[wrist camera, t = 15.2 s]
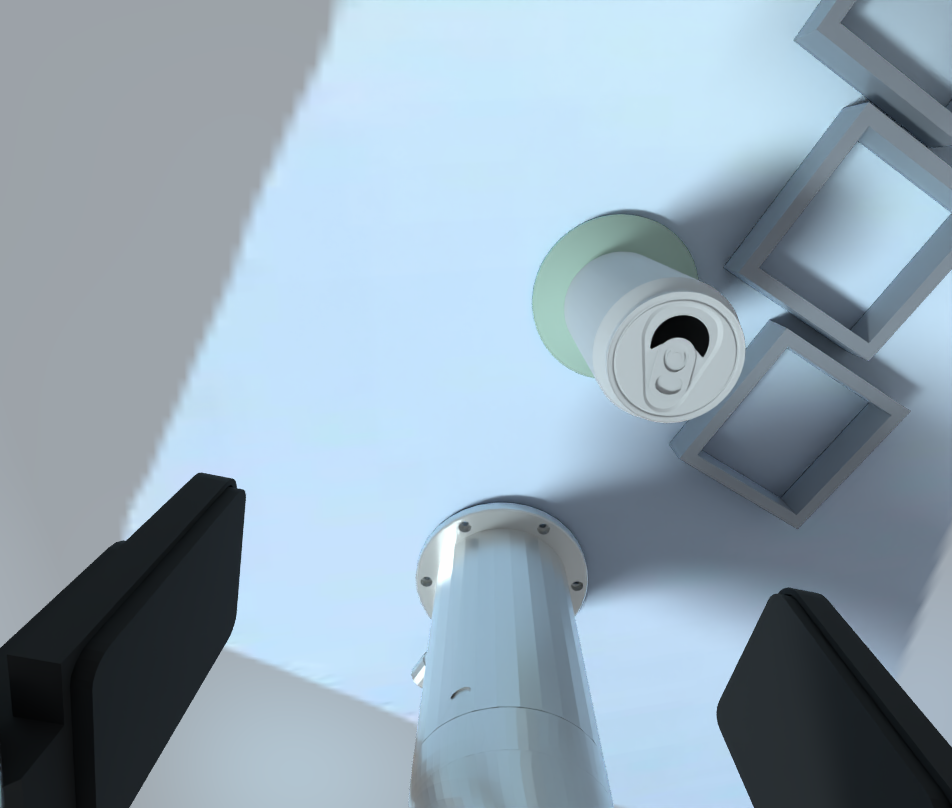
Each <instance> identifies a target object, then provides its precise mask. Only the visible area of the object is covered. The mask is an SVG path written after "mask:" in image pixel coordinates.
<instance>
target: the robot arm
mask: <svg viewBox="0 0 952 808" xmlns="http://www.w3.org/2000/svg"><path fill="white" fill-rule="evenodd" d="M245 501H246V494H245V491H244V490H242V489H237V485H236V481H235V480H234V479H231V478H226V477H221V476H216V475H211V474H206V473H198V474H196V475H195V476H194V477H193V478H192V479H191V480H190V481H188V482H187V483H186V484H185V485H184V486H183V487H182V488H181V489H180V490H179V491H178V492H177V493H176V494H175V495H174V496H173V497H172V498H171V499H170V500H168V501H167V502H166V503H165V504H164V505H163V506H162V507H161V508H160V509H159V510H158V511H157V512H156V513H155V514H154V515H153V516H152V517H151V518H150V519H148V520H147V521H146V522H145V523H144V524H143V525H142V526H141V527H140V528H139V529H138V530H137V531H136V532H135V533H134V534H133V535H132V536H131V537H130V538H129V539H127V540H126V541H119V542H116V543H115V544H113V545H112V546H110V547H109V548H108V549H107V550H106V551H105V552H103V553H102V554H101V555H100V556H99V557H98V558H97V559H96V560H95V561H94V562H93V563H92V564H90V565H89V566H88V567H87V568H86V569H85V570H84V571H83V572H82V573H81V574H80V575H79V576H78V577H76V578H75V579H74V580H73V581H72V582H71V583H70V584H69V585H68V586H67V587H66V588H65V589H63V590H62V591H61V592H60V593H59V594H58V595H57V596H56V597H55V598H54V599H53V600H52V601H51V602H49V604H47V605H46V606H45V607H44V608H43V609H42V610H41V611H40V612H39V613H38V614H36V615H35V616H34V617H33V618H32V619H31V620H30V621H29V622H28V623H27V624H26V625H25V626H24V627H22V628H21V629H20V630H19V631H18V632H17V633H16V634H15V635H14V636H13V637H12V638H11V639H9V640H8V641H7V642H6V643H5V644H4V645H3V646H2V647H1V648H0V808H129V807H130V805H131V804H132V802H133V800H134V799H135V797H136V795H137V794H138V792H139V790H140V789H141V787H142V785H143V783H144V782H145V780H146V778H147V777H148V775H149V773H150V772H151V770H152V768H153V766H154V765H155V763H156V761H157V760H158V758H159V756H160V754H161V753H162V751H163V749H164V748H165V746H166V744H167V743H168V741H169V739H170V737H171V736H172V734H173V732H174V731H175V729H176V727H177V726H178V724H179V722H180V720H181V719H182V717H183V715H184V714H185V712H186V710H187V708H188V707H189V705H190V703H191V702H192V700H193V698H194V697H195V695H196V693H197V691H198V690H199V688H200V686H201V685H202V683H203V681H204V680H205V678H206V676H207V674H208V673H209V671H210V669H211V668H212V666H213V664H214V663H215V661H216V659H217V657H218V656H219V654H220V652H221V651H222V649H223V647H224V645H225V644H226V642H227V640H228V639H229V637H230V635H231V632H232V630H233V627H234V624H235V620H236V613H237V601H238V589H239V576H240V564H241V551H242V539H243V526H244V514H245ZM465 522H466V523H465ZM541 524H543V525H541ZM587 586H588V571H587V565H586V561H585V557H584V554H583V552H582V550H581V547H580V545H579V543H578V541H577V540H576V538H575V537H574V536H573V534H572V533H571V532H570V530H569V529H568V528H566V527H565V526H564V525H563V524H562V523H561V522H560V521H559V520H557V519H556V518H554V517H552V516H551V515H549V514H547V513H546V512H543V511H541V510H538V509H536V508H533V507H530V506H526V505H521V504H516V503H489V504H482V505H477V506H474V507H471V508H468V509H465V510H462V511H460V512H459V513H457V514H455V515H453V516H451V517H449V518H448V519H447V520H445V521H444V522H443V523H442V524H440V525H439V526H438V527H437V528H436V529H435V530H434V531H433V533H432V534H431V535H430V536H429V537H428V539H427V541H426V542H425V544H424V546H423V548H422V550H421V553H420V557H419V560H418V565H417V572H416V587H417V593H418V596H419V599H420V602H421V605H422V606H423V608H424V610H425V611H426V613H427V615H428V616H429V617H430V618H431V627H430V634H429V642H428V650H427V652H426V653H425V654H424V655H423V656H422V657H421V659H420V660H419V661H418V663H417V664H416V665H415V667H414V668H413V669H412V674H411V675H412V678H413V681H414V682H415V683H416V684H417V685H418V686H419V687H421V688H422V696H421V703H420V711H419V719H418V726H417V734H416V742H415V749H414V757H413V764H412V774H411V781H410V789H409V808H614V805H613V800H612V795H611V790H610V786H609V781H608V776H607V771H606V766H605V762H604V758H603V753H602V748H601V743H600V738H599V733H598V728H597V723H596V718H595V714H594V709H593V704H592V699H591V694H590V689H589V684H588V679H587V674H586V669H585V664H584V659H583V655H582V650H581V645H580V640H579V635H578V630H577V625H576V620H575V616H576V614H577V613H578V611H579V610H580V608H581V606H582V604H583V601H584V599H585V597H586V592H587ZM717 722H718V725H719V728H720V731H721V733H722V735H723V737H724V740H725V742H726V744H727V747H728V749H729V751H730V754H731V756H732V758H733V760H734V763H735V765H736V767H737V770H738V772H739V774H740V777H741V779H742V781H743V783H744V786H745V788H746V790H747V793H748V795H749V797H750V799H751V802H752V804H753V806H754V808H952V747H951V746H950V745H949V744H948V742H947V741H946V740H945V739H944V738H943V736H942V735H941V734H940V733H939V732H938V731H937V729H936V728H935V727H934V726H933V724H932V723H931V722H930V721H929V720H928V719H927V717H926V716H925V715H924V714H923V713H922V711H921V710H920V709H919V708H918V707H917V705H916V704H915V703H914V702H913V701H912V700H911V698H910V697H909V696H908V695H907V694H906V692H905V691H904V690H903V689H902V688H901V686H900V685H899V684H898V683H897V682H896V681H895V679H894V678H893V677H892V676H891V675H890V673H889V672H888V671H887V670H886V669H885V667H884V666H883V665H882V664H881V663H880V662H879V660H878V659H877V658H876V657H875V656H874V654H873V653H872V652H871V651H870V650H869V648H868V647H867V646H866V645H865V644H864V643H863V641H862V640H861V639H860V638H859V637H858V635H857V634H856V633H855V632H854V631H853V629H852V628H851V627H850V626H849V625H848V624H847V622H846V621H845V620H844V619H843V618H842V616H841V615H840V614H839V613H838V612H837V610H836V609H835V608H834V607H833V606H832V605H831V603H830V602H829V601H828V600H827V599H826V598H825V597H824V596H823V595H821V594H818V593H814V592H809V591H803V590H798V589H793V588H784V589H783V590H781V591H780V592H779V593H778V594H774V595H772V596H771V597H770V599H769V600H768V602H767V604H766V606H765V608H764V610H763V612H762V614H761V616H760V618H759V620H758V622H757V625H756V627H755V629H754V631H753V633H752V635H751V637H750V639H749V641H748V643H747V645H746V647H745V649H744V651H743V653H742V655H741V657H740V659H739V661H738V664H737V666H736V668H735V670H734V672H733V674H732V676H731V678H730V680H729V682H728V684H727V686H726V688H725V690H724V692H723V694H722V696H721V698H720V701H719V703H718V706H717Z"/></svg>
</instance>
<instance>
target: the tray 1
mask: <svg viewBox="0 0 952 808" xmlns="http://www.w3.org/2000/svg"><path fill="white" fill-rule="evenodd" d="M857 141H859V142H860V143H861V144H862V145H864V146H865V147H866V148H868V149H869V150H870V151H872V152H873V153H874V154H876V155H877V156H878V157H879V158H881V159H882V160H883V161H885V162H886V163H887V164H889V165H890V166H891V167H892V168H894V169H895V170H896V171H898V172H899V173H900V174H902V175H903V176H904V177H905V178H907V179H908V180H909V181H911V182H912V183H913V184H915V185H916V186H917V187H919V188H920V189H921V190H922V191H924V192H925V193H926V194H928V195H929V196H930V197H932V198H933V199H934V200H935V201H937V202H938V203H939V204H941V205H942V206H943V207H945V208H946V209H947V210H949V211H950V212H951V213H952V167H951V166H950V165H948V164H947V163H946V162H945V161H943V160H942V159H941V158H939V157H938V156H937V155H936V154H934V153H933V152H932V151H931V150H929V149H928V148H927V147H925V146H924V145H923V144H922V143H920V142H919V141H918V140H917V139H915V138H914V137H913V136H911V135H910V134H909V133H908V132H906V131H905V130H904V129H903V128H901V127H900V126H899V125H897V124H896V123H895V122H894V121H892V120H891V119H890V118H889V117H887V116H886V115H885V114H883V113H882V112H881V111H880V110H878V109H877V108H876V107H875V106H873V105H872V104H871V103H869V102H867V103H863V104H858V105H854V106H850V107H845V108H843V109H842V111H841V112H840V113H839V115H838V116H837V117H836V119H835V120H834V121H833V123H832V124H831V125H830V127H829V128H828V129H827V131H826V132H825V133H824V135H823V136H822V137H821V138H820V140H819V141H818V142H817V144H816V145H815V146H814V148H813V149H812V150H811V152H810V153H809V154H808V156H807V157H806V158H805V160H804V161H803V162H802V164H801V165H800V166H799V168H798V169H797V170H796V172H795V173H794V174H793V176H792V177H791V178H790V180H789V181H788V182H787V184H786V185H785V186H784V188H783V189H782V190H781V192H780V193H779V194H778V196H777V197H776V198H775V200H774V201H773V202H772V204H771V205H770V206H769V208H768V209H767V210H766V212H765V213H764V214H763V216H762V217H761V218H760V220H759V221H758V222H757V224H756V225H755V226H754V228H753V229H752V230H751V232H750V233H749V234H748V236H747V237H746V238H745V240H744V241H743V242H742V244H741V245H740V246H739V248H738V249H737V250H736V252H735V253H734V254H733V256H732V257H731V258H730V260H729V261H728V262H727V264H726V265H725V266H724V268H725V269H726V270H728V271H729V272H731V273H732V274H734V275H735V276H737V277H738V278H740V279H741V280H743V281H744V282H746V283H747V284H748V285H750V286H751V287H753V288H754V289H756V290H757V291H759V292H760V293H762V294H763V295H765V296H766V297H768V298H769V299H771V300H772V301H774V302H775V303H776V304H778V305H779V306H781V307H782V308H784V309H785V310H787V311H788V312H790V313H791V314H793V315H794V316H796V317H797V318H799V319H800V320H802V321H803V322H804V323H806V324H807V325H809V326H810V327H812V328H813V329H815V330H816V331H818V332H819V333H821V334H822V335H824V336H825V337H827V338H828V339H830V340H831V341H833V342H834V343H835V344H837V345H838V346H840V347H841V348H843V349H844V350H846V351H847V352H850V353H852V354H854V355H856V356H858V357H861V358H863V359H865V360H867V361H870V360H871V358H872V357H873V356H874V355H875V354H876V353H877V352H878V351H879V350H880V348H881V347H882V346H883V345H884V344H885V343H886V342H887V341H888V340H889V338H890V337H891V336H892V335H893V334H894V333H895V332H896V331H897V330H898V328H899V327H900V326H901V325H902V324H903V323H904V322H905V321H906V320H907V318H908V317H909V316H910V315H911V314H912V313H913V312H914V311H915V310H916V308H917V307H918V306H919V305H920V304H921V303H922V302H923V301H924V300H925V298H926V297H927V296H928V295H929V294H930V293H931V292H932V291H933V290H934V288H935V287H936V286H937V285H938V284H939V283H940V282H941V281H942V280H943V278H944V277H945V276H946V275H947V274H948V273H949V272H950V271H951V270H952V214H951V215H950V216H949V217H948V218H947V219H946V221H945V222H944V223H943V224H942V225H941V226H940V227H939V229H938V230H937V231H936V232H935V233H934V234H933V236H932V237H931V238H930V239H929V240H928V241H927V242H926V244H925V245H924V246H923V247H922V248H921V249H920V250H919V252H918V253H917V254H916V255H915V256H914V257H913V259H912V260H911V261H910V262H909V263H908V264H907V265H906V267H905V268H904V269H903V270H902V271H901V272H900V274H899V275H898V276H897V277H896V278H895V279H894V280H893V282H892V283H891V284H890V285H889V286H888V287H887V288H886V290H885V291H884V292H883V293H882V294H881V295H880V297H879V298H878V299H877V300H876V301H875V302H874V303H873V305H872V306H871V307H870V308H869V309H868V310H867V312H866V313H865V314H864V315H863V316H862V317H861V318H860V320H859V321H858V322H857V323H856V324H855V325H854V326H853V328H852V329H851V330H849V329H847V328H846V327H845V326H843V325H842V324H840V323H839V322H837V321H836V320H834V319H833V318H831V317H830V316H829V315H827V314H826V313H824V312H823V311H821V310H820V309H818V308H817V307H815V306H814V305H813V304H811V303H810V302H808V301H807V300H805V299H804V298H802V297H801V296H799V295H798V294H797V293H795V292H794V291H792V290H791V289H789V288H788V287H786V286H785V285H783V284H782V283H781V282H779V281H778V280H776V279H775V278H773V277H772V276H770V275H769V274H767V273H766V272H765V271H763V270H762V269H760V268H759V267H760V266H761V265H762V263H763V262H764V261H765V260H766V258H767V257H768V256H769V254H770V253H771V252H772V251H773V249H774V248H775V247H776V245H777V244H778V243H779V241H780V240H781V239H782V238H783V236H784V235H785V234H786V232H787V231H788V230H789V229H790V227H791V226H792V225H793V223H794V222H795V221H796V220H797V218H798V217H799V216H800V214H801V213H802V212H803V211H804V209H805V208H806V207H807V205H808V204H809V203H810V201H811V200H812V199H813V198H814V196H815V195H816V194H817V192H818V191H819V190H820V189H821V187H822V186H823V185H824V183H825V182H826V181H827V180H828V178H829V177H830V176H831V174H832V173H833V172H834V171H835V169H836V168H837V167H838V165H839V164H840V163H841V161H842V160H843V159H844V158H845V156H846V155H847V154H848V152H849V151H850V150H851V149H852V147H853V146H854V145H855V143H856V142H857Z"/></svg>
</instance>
